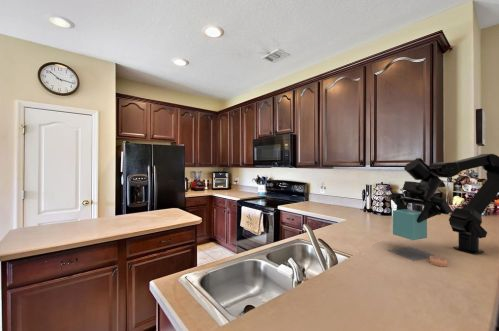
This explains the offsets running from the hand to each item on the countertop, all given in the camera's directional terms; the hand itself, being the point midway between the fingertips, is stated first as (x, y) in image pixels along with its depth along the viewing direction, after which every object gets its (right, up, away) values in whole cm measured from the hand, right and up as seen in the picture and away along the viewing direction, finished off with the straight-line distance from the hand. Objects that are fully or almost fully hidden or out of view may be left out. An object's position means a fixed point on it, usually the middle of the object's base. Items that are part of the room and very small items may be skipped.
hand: (406, 219), depth 83 cm
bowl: (+5, -13, -8) cm, 16 cm away
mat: (+2, -13, +1) cm, 13 cm away
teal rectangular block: (+1, -6, 0) cm, 6 cm away
